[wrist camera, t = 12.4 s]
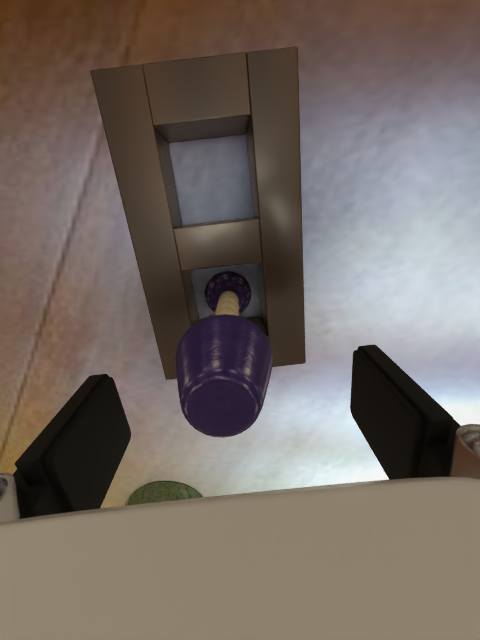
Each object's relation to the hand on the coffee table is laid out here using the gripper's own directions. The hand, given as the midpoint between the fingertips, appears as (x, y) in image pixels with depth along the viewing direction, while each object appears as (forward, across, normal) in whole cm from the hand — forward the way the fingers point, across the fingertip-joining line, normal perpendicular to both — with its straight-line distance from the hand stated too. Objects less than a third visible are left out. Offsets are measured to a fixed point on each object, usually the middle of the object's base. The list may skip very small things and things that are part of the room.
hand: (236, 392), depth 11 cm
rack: (+16, +1, -4) cm, 16 cm away
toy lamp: (+16, +1, 0) cm, 16 cm away
